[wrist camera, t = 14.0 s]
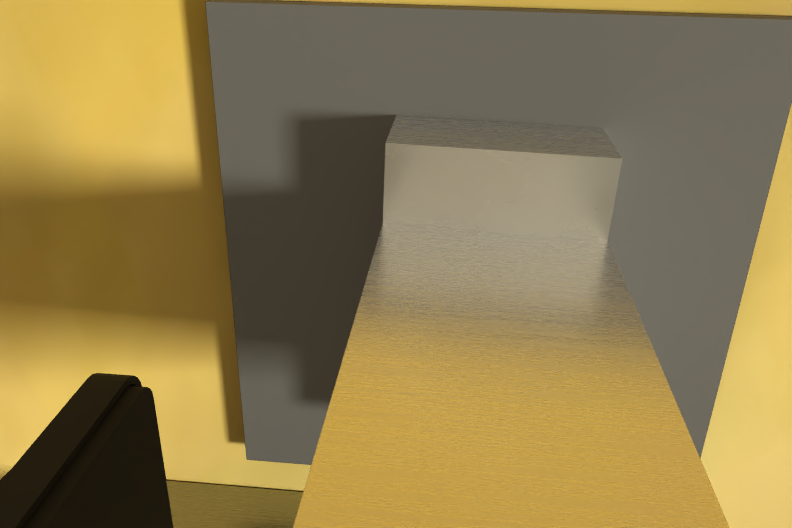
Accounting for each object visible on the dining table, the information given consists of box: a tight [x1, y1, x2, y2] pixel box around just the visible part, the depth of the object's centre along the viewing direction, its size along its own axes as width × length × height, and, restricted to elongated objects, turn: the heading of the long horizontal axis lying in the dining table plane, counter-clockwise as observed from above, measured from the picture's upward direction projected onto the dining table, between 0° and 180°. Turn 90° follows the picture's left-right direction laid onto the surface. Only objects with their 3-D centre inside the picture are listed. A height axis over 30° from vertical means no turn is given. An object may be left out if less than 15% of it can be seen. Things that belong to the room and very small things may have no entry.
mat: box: [206, 0, 792, 465], centre depth 16 cm, size 11×11×1 cm
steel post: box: [293, 115, 729, 528], centre depth 10 cm, size 4×7×12 cm, turn 178°
